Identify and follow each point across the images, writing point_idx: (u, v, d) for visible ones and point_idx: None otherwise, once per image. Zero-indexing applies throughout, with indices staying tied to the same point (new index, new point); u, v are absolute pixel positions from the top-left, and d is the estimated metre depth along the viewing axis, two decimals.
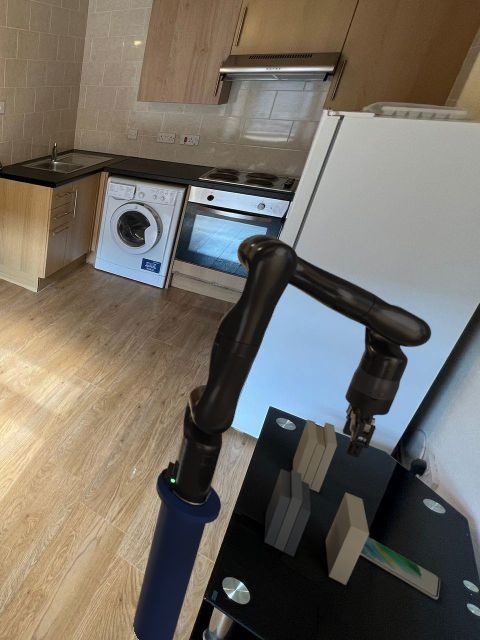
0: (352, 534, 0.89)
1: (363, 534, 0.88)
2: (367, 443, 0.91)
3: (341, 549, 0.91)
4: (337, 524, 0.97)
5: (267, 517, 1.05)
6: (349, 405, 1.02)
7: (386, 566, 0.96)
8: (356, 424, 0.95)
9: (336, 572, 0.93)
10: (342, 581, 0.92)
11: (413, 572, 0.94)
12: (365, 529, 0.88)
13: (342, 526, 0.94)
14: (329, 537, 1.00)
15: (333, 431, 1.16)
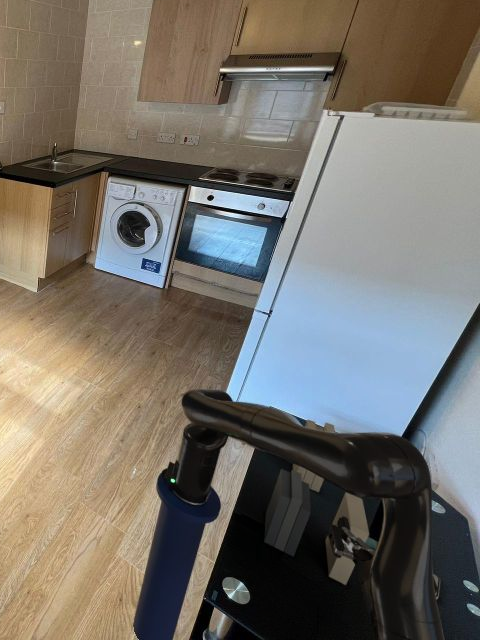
0: None
1: (363, 534, 0.88)
2: (329, 537, 0.82)
3: None
4: None
5: (267, 517, 1.05)
6: None
7: None
8: None
9: (336, 572, 0.93)
10: (342, 581, 0.92)
11: None
12: (365, 529, 0.88)
13: None
14: None
15: (333, 431, 1.16)
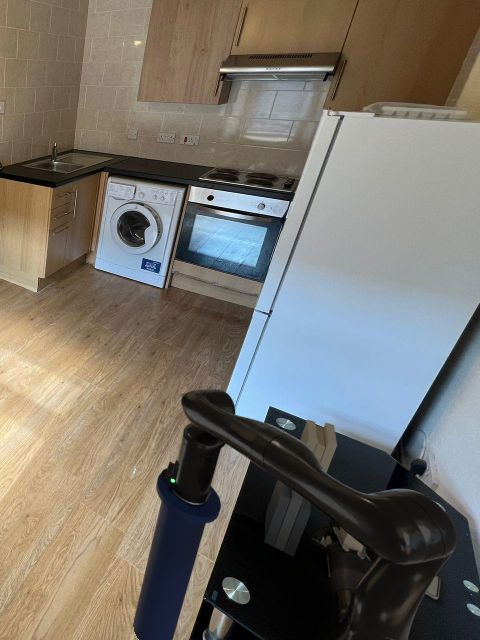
0: None
1: None
2: None
3: None
4: None
5: (267, 517, 1.05)
6: None
7: None
8: (335, 542, 0.92)
9: None
10: None
11: None
12: None
13: None
14: (329, 537, 1.00)
15: (333, 431, 1.16)
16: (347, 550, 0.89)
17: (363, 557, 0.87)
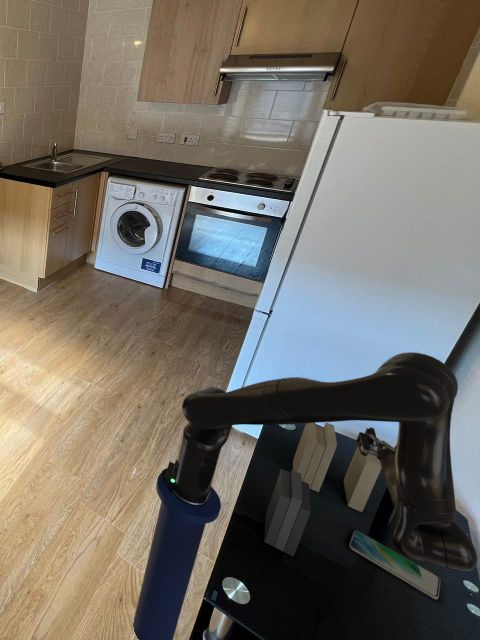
0: (368, 468, 1.07)
1: (377, 467, 1.06)
2: (357, 442, 0.98)
3: (358, 481, 1.09)
4: (354, 464, 1.15)
5: (267, 517, 1.05)
6: None
7: (386, 566, 0.96)
8: None
9: (354, 502, 1.11)
10: (359, 509, 1.10)
11: (413, 572, 0.94)
12: (379, 463, 1.06)
13: (359, 464, 1.11)
14: (347, 476, 1.18)
15: (333, 431, 1.16)
16: None
17: None
